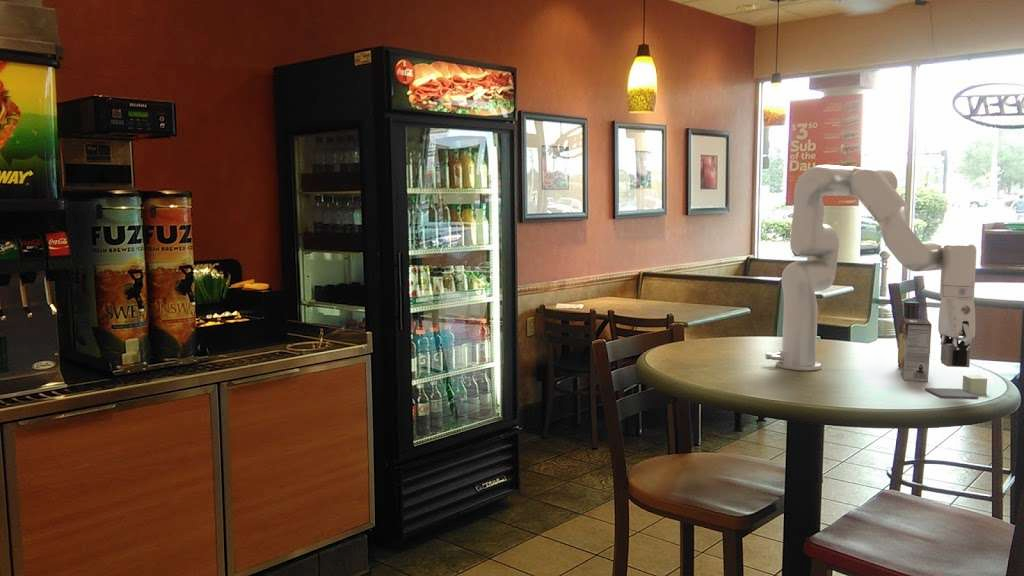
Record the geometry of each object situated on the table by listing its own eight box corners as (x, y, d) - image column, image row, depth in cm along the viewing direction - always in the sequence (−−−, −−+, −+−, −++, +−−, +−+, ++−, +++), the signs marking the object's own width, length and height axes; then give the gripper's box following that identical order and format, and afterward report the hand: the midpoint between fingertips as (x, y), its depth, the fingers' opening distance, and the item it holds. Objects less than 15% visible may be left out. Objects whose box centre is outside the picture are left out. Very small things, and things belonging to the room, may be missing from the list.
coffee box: (899, 373, 229) (902, 318, 227) (924, 375, 226) (927, 319, 225) (903, 380, 220) (906, 322, 218) (929, 382, 218) (932, 323, 216)
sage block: (970, 393, 204) (971, 378, 204) (962, 390, 208) (963, 375, 208) (986, 394, 204) (987, 378, 204) (978, 390, 208) (979, 375, 208)
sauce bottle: (923, 371, 232) (927, 303, 230) (900, 370, 233) (904, 303, 231) (916, 367, 238) (920, 301, 237) (894, 366, 240) (897, 300, 238)
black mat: (941, 398, 199) (941, 396, 199) (924, 389, 208) (924, 388, 208) (978, 398, 199) (978, 396, 198) (960, 390, 207) (960, 388, 207)
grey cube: (969, 367, 199) (970, 347, 199) (947, 366, 200) (948, 346, 200) (962, 363, 204) (963, 344, 204) (941, 362, 205) (942, 343, 205)
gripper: (990, 296, 192) (986, 370, 194) (955, 289, 209) (952, 357, 211) (958, 295, 192) (954, 370, 194) (926, 289, 209) (922, 357, 211)
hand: (953, 362), depth 202 cm, fingers closed on grey cube, 5 cm apart
